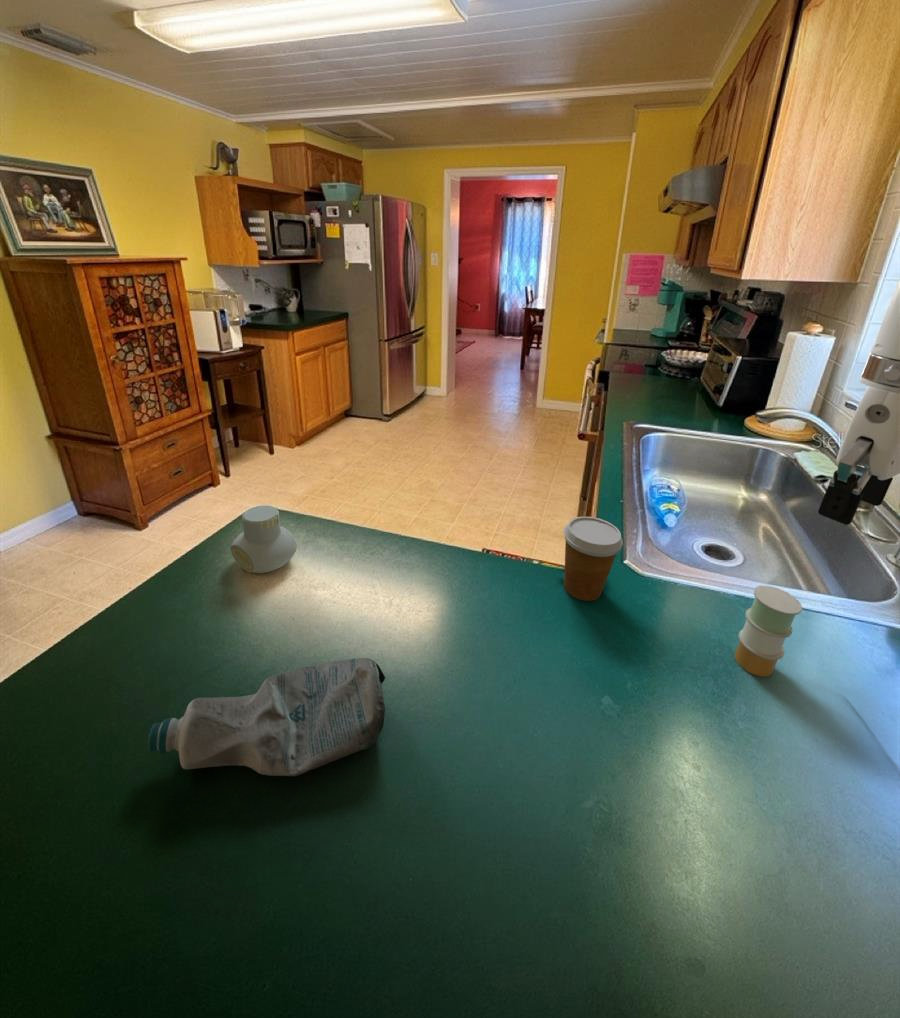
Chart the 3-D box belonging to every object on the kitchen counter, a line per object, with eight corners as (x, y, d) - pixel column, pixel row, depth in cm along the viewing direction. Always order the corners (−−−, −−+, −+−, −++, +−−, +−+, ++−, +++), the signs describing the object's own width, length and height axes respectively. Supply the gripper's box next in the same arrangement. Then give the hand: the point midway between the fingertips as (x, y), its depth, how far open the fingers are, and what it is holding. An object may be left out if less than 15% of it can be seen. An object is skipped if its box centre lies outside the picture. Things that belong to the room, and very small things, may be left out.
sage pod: (779, 610, 68) (788, 588, 67) (801, 639, 63) (811, 616, 62) (739, 604, 69) (746, 583, 67) (757, 633, 64) (766, 610, 62)
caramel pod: (763, 651, 71) (772, 631, 70) (783, 682, 66) (792, 661, 64) (725, 645, 72) (732, 625, 70) (741, 676, 66) (749, 655, 65)
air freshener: (227, 560, 84) (220, 511, 80) (268, 540, 90) (263, 494, 86) (262, 586, 78) (256, 535, 74) (304, 563, 84) (301, 515, 80)
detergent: (381, 671, 63) (175, 698, 57) (383, 633, 60) (165, 657, 54) (392, 775, 52) (136, 822, 46) (395, 735, 49) (121, 780, 43)
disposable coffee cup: (553, 600, 79) (564, 540, 74) (555, 567, 87) (565, 511, 83) (612, 613, 77) (627, 551, 72) (608, 577, 85) (621, 520, 81)
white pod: (771, 630, 70) (779, 610, 68) (791, 660, 64) (801, 639, 63) (731, 625, 70) (739, 604, 69) (748, 654, 65) (757, 633, 64)
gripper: (927, 392, 45) (859, 543, 51) (974, 377, 54) (911, 507, 60) (835, 373, 51) (784, 512, 57) (891, 362, 60) (842, 483, 66)
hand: (849, 509), depth 59 cm, fingers open, 9 cm apart
